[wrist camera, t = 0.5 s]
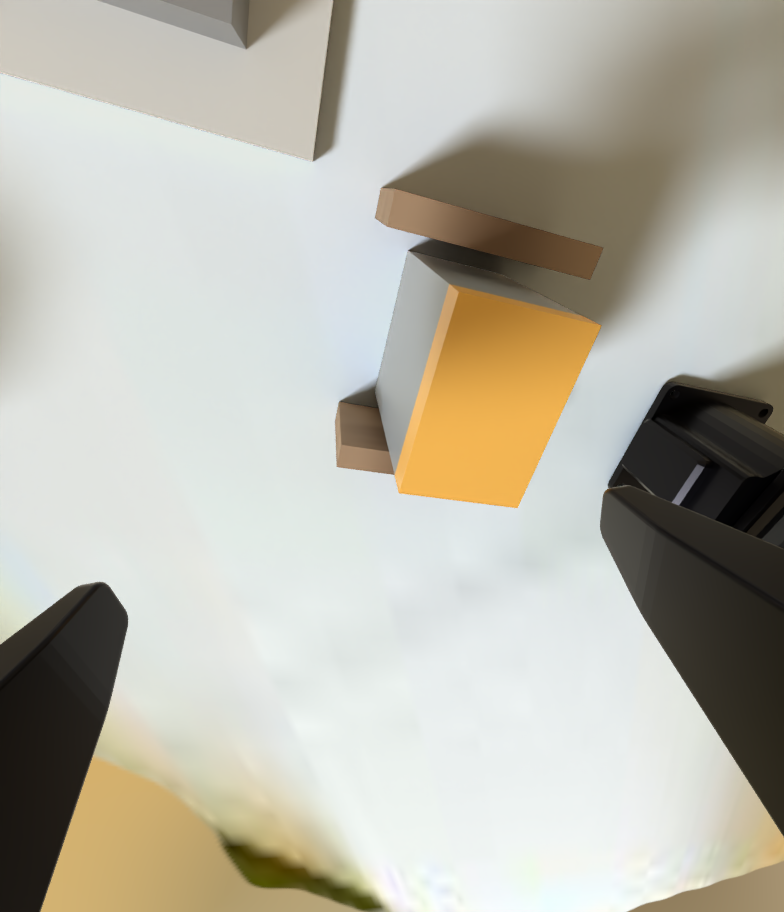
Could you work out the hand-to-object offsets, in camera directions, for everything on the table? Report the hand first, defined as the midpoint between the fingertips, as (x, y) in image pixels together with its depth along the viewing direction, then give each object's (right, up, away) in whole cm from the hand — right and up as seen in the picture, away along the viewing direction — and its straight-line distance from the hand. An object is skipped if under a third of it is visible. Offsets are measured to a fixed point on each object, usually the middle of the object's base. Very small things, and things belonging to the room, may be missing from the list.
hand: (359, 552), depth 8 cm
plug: (+2, +7, +11) cm, 14 cm away
